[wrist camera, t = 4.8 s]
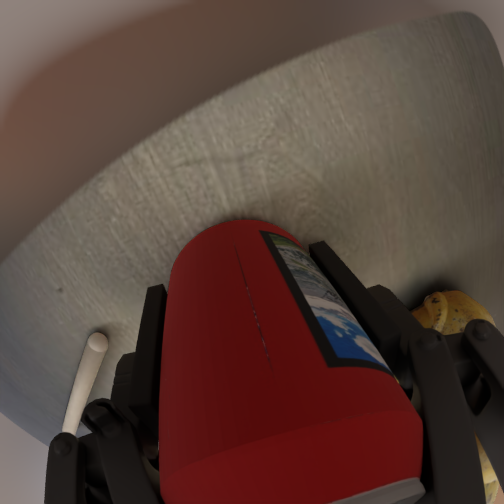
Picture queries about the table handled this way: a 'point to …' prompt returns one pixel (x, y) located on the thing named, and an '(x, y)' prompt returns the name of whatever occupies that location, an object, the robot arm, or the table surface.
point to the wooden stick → (84, 380)
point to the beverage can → (275, 383)
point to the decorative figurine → (449, 322)
